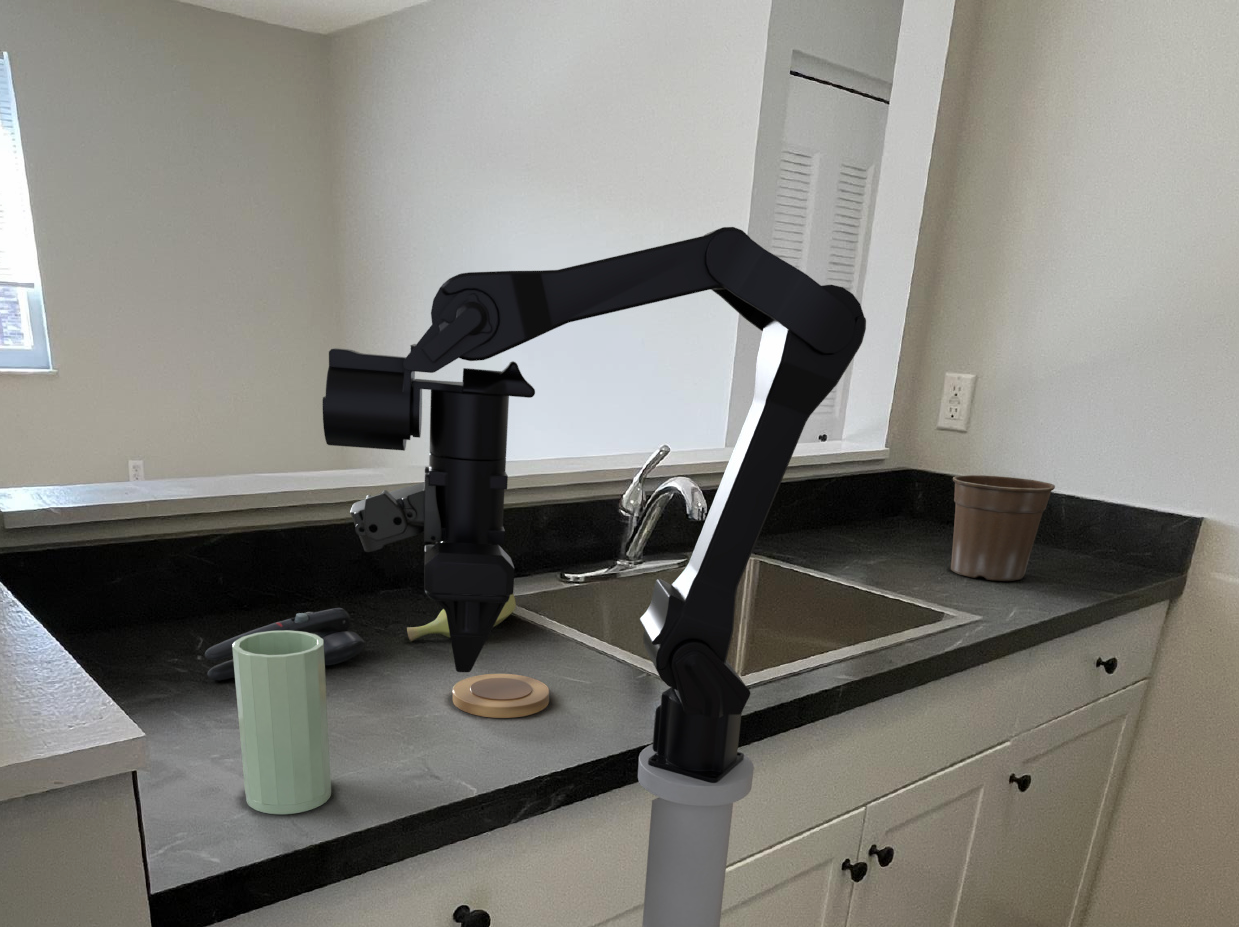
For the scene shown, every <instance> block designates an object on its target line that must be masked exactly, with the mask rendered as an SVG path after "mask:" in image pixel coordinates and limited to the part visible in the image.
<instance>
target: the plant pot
mask: <svg viewBox="0 0 1239 927" xmlns="http://www.w3.org/2000/svg"><path fill="white" fill-rule="evenodd" d="M952 481H953V483H954V493H953V494H954V496H953V502H954V503H955V509H954V520H953V521H954V522H953V523H954V524H953V525H954V526H953V536H952V550H951V561H950V570H951V571H952V572H954V573H955V574H957V575H960V576H963V577H967V578H968V577H969V578H972V579H977V578H979V577H981V578H985V580H987V581H997V582H998V581H999V582H1013V581H1019V580H1022V579H1023V578H1024V577H1025V575H1026V571H1027V568H1028V564H1029V561H1030V558H1031V554H1032V550H1033V547H1034V543H1035V540H1036V536H1037V533H1038V530H1039V527H1040V523H1041V519H1042V516H1043V514H1044V511H1045V510H1046V509H1047V506H1048V503H1049V500H1050V497H1051V494H1052V491H1054V490H1055V488H1056V485H1055V484H1052V483H1050V482H1045V481H1042V480H1035V479H1029V478H1021V477H1011V476H1001V475H1000V476H999V475H983V474H981V475H980V474H977V475H976V474H968V475H967V474H966V475H955V476H953V477H952Z"/></svg>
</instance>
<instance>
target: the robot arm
mask: <svg viewBox="0 0 1239 927" xmlns="http://www.w3.org/2000/svg"><path fill="white" fill-rule="evenodd" d="M709 290H711V292H713V293H715V294H716V295H718V296H719V297H720V298H721V299H723V301H724V302H725V303H727V304H728V305H729V306H730V307H731V308H732V309H734V310H735V311H736V312H737V313H738V314H739V315H740V316H741V317H742V318H743V319H745V321H747V322H748V323H750V324H751V325H753V326H754V327H756V328H757V329H758V330H760V331H761V332H762V333H761V338H760V343H759V347H758V351H757V356H756V365H755V366H756V368H755V379H754V391H753V392H754V393H753V398H752V402H751V405H750V407H749V409H748V412H747V414H746V418H745V420H744V423H743V425H742V427H741V431H740V433H739V435H738V438H737V439H736V443H735V446H734V448H733V451H732V453H731V456H730V458H729V461H728V462H727V466H726V468H725V470H724V474H723V476H722V478H721V480H720V483H719V486H718V488H717V491H716V493H715V496H714V498H713V501H712V503H711V506H710V509H709V511H708V514H707V516H706V518H705V521H704V523H703V526H702V528H701V532H700V534H699V536H698V539H697V541H696V543H695V546H694V549H693V551H692V554H691V557H690V559H689V561H688V564H687V565H686V567H685V568H684V570H683V571H682V572H681V573H680V575H679V576H678V577H676V579H675V580H674V581H673V582H672V583H671V584H670V583H669V582H667V581H665V580H663V579H661V578H657V579H656V580H655V584H654V587H653V592H652V596H651V601H650V604H649V606H648V608H647V610H646V611H645V612H644V613H643V615H642V616H640V618H639V623H640V624H641V625H642V627H643V629H644V631H643V635H642V639H643V644H644V648H645V650H646V653H647V654H648V656H649V658H650V660H651V663H652V664H653V667H654V668H655V670H656V672H657V674H658V676H659V678H660V679H661V681H662V682H663V683H665V685H667V686H668V687H669V688H668V689H666V690H664V691H663V692H662V693H661V696H660V697H661V698H660V704H659V705H658V706H656V707H655V710H654V720H653V721H654V722H653V723H654V724H653V734H652V735H653V736H652V744H653V747H652V748H653V751H654V752H657V753H655V754H654V755H653V756H651V757H650V758H649V759H648V765H650V766H653V767H656V768H660V769H664V770H667V771H671V772H674V773H678V774H681V775H685V776H688V777H692V778H695V779H699V780H702V781H706V782H709V783H717V782H718V781H720V780H721V779H722V778H723V777H724V776H725V775H726V774H728V773H729V772H730V771H731V770H732V769H733V768H734V767H736V766H737V765H738V764H739V763H740V762H741V761H742V760H743V759H744V754H745V753H744V754H743V752H742V751H740V752H737V751H738V750H739V742H740V741H739V740H740V732H741V723H742V715H743V714H742V713H743V711H744V709H745V706H746V704H747V702H748V700H749V699H750V696H751V693H752V692H751V690H750V689H749V688H748V686H747V685H746V683H745V682H744V680H742V678H741V677H740V676H739V674H738V672H736V670H735V669H734V667H733V666H732V664H731V663H730V662H729V661H728V655H729V651H730V647H731V643H732V638H733V635H734V634H733V633H734V627H735V626H734V625H735V613H736V612H735V611H736V597H737V591H738V588H739V585H740V582H741V581H742V577H743V575H744V572H745V570H746V568H747V565H748V564H749V561H750V558H751V555H752V552H753V551H754V549H755V546H756V544H757V542H758V539H759V536H760V534H761V532H762V529H763V528H764V527H763V526H764V524H765V522H766V520H767V517H768V515H769V513H770V509H771V508H772V506H773V503H774V500H775V498H776V495H777V493H778V491H779V489H780V486H781V484H782V481H783V479H784V476H785V473H786V472H787V470H788V467H789V465H790V462H791V460H792V458H793V455H794V452H795V450H796V447H797V446H798V443H799V440H800V437H801V436H802V433H803V432H804V428H805V426H806V424H807V422H808V420H809V419H810V417H811V416H812V414H813V413H814V411H816V409H818V407H819V406H820V405H821V404H822V402H824V401H825V399H826V398H827V396H829V395H830V393H831V392H832V391H834V388H836V386H837V385H838V384H839V382H840V381H841V379H842V377H843V375H844V374H845V372H846V371H847V369H848V367H849V366H850V364H851V362H852V361H853V359H854V357H855V356H856V355H857V353H858V351H859V349H860V348H861V346H862V344H863V341H864V338H865V335H866V334H865V333H866V330H867V318H866V317H865V315H864V310H863V309H862V306H861V303H860V301H859V299H857V297H856V296H855V295H854V294H853V293H852V292H851V291H850V290H848V289H847V288H845V287H843V286H839V285H835V284H824V285H821V284H820V283H818V282H817V281H816V280H814V279H813V278H812V277H810V276H809V275H808V274H807V273H805V272H804V271H802V270H801V269H799V268H797V267H795V266H793V265H792V264H791V263H789V262H787V261H785V259H782V258H780V257H778V256H777V255H775V254H773V253H772V252H770V251H768V250H767V249H765V248H764V247H763V246H761V245H760V244H758V243H757V242H756V241H754V240H753V239H752V238H751V237H750V235H748V234H747V233H746V232H745V231H744V230H743V229H740V228H737V227H735V226H723V227H720V228H718V229H715V230H712V231H710V232H707V233H706V234H703V235H701V236H698V237H693V238H689V239H688V238H687V239H684V240H680V241H676V242H670V243H666V244H663V245H659V246H653V247H650V248H645V249H641V250H637V251H633V252H628V253H623V254H620V255H616V256H611V257H606V258H603V259H598V260H593V261H589V262H585V263H580V264H576V265H572V266H569V267H563V268H560V269H549V270H548V269H547V270H546V269H544V270H500V271H499V270H497V271H495V270H494V271H471V272H470V271H469V272H463V273H458V274H456V275H454V276H452V277H449V278H448V279H447V280H446V281H445V282H443V283H442V285H441V286H440V287H439V288H438V290H437V291H436V294H435V296H434V297H433V300H432V305H431V309H430V310H431V311H430V319H431V325H430V327H428V329H427V330H426V332H424V334H423V336H422V337H420V339H419V340H418V342H417V343H413V344H410V345H409V353H408V354H407V355H406V356H398V355H385V354H373V353H363V352H360V351H356V350H353V349H348V348H338V347H337V348H336V347H335V348H331V349H330V350H329V351H328V368H327V374H326V382H325V396H322V425H323V434H324V439H325V443H326V445H327V446H332V447H333V446H335V447H346V448H347V447H349V448H361V449H362V448H363V449H375V450H388V451H389V450H390V451H391V450H392V451H406V448H407V441H411V439H412V438H418V439H419V438H421V435H422V424H423V422H422V421H423V390H428V391H430V408H429V410H430V411H429V454H428V456H429V457H428V458H429V459H428V466H424V482H420V483H416V484H413V485H409V486H405V487H401V488H398V489H394V490H391V491H388V490H387V489H384V490H382V491H381V493H378V494H375V495H371V494H367V495H366V497H365V498H364V499H361V500H359V501H356V502H354V503H353V504H352V506H351V508H350V511H349V513H350V515H351V518H352V521H353V524H354V527H355V528H354V529H355V530H354V532H355V533H356V535H357V536H358V537H359V539H360V542H361V545H362V548H363V550H364V552H365V553H371V552H375V551H379V550H383V548H384V546H386V545H390V544H392V543H396V542H399V541H402V540H405V539H409V538H413V537H416V536H418V535H420V534H423V545H424V568H423V569H424V570H423V571H424V572H423V573H424V575H423V585H424V586H423V589H424V590H423V591H424V593H425V595H426V596H427V597H428V599H430V600H432V601H434V602H435V603H436V604H437V605H438V606H440V607H441V608H442V610H443V609H444V610H445V612H446V616H447V621H448V627H449V633H450V638H449V639H450V643H451V649H452V656H453V661H454V667H455V668H454V669H455V671H456V672H457V673H470V672H471V671H472V670H473V667H474V665H475V664H476V662H477V660H478V658H479V655H481V652H482V649H483V648H484V647H485V644H486V641H487V640H488V638H489V635H490V634H491V632H492V630H493V628H494V627H495V626H494V624H495V622H496V620H497V619H498V617H499V615H500V613H501V611H502V609H503V607H504V605H505V604H506V602H508V601H509V598H510V595H512V594H514V590H515V589H514V587H515V572H516V571H515V566H514V563H513V561H512V557H511V556H510V555H509V554H508V553H507V552H506V551H505V550H504V549H503V548H502V547H501V546H500V545H505V544H506V543H505V540H506V530H505V528H504V507H505V491H506V490H508V483H509V482H508V481H509V480H508V479H509V474H507V471H506V469H507V468H506V466H507V465H506V464H507V458H506V457H507V445H508V428H509V427H508V424H509V406H510V405H509V404H510V397H516V398H528V399H529V398H531V399H532V398H533V397H534V396H535V394H536V389H535V388H534V386H533V385H531V384H530V382H528V381H527V380H526V378H525V377H524V376H523V374H522V372H521V370H520V368H519V365H518V363H517V362H516V361H514V360H512V361H509V363H508V365H506V367H505V368H504V369H503V370H492V369H479V368H477V369H476V368H468V367H467V368H465V367H464V368H463V369H462V381H450V380H449V381H448V380H436V379H435V380H434V379H424V378H423V379H422V378H416V373H426V374H427V373H429V374H433V373H436V372H437V371H439V370H441V369H443V368H445V367H447V365H449V364H451V363H453V362H455V361H456V360H458V359H460V360H463V361H468V362H475V361H476V362H477V361H485V360H489V359H491V358H493V357H495V356H496V357H497V356H498V355H500V354H502V353H505V352H507V351H509V350H511V349H514V348H517V347H518V346H521V345H523V344H524V343H525V344H526V343H527V342H530V341H531V340H533V339H536V338H538V337H540V336H542V335H544V334H546V333H548V332H551V331H553V330H555V329H557V328H560V327H562V326H564V325H566V324H570V323H573V322H577V321H582V320H586V319H590V318H595V317H599V316H604V315H607V314H612V313H615V312H619V311H624V310H629V309H633V308H638V307H641V306H646V305H651V304H654V303H658V302H663V301H667V300H671V299H676V298H680V297H684V296H689V295H692V294H697V293H701V292H705V291H709ZM411 436H412V438H411ZM432 543H434V544H432ZM493 626H494V627H493ZM741 752H742V753H741Z"/></svg>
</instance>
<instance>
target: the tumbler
mask: <svg viewBox="0 0 1239 927" xmlns="http://www.w3.org/2000/svg"><path fill="white" fill-rule="evenodd" d="M232 649H233V656H232V659H233V661H234V672H235V677H234V682H235V684H234V685H235V693H236V694H235V695H236V705H237V706H236V707H237V716H238V729H239V739H240V752H241V764H242V774H243V783H244V784H243V785H244V793H245V801H246V803H247V805H248V807H250V808H251V809H253V810H255V811H257V812H261V813H264V814H269V815H293V814H299V813H300V814H301V813H305V812H308V811H311V810H314V809H316V808H318V807H320V806H322V805H324V804H325V803H327V801H328V800H330V798H331V796H332V773H331V772H332V771H331V755H330V736H329V718H328V699H327V697H328V696H327V682H326V681H327V680H326V678H327V677H326V665H325V657H324V640H323V639H322V638H321V637H319V636H318V635H315V634H311V633H307V632H301V631H290V630H284V631H267V632H260V633H254V634H251V635H247V636H244V637H241V638H240V639H238V640H236V641H235V642H234V643H233V647H232Z"/></svg>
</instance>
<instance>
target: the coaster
mask: <svg viewBox="0 0 1239 927" xmlns="http://www.w3.org/2000/svg"><path fill="white" fill-rule="evenodd" d="M452 703H453V705H454V706H455V707H456V708H457V709H459V710H461V711H462V712H465V713H467V714H471V715H473V716H477V717H485V718H492V719H512V718H513V719H514V718H522V717H526V716H531V715H535V714H538V713H539V712H541V711H543V710H545V709H546V708H547V707H548V706H549V703H550V688H549V687H548V685H546V684H545V683H544V682H542V681H540V680H538V679H537V678H533V677H530V676H525V675H520V674H514V673H512V674H511V673H486V674H479V675H478V674H477V675H474V676H473V675H472V676H469V677H466V678H463V679H461V680H459V681H457V682H456V683H455V684H454V686H453V687H452Z"/></svg>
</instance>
